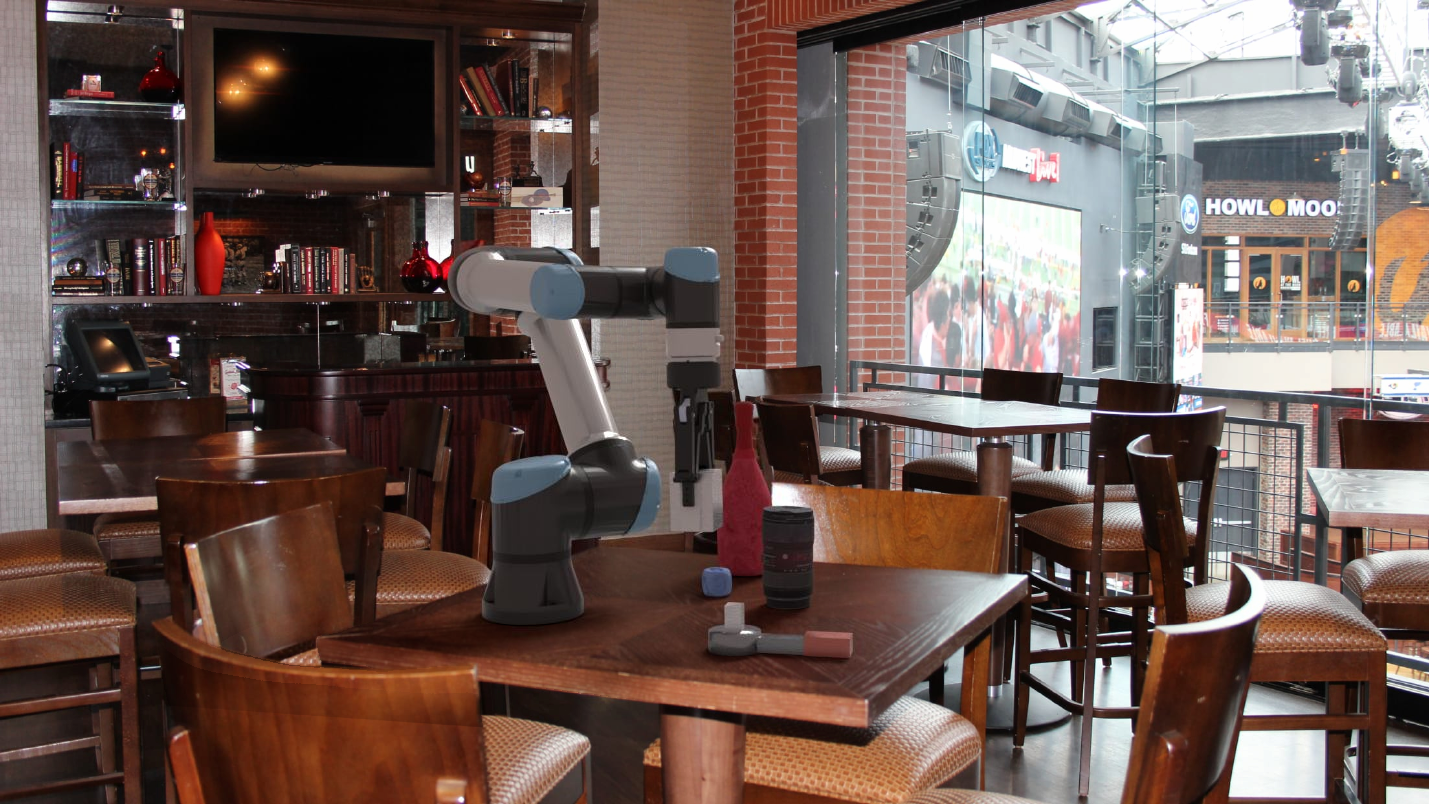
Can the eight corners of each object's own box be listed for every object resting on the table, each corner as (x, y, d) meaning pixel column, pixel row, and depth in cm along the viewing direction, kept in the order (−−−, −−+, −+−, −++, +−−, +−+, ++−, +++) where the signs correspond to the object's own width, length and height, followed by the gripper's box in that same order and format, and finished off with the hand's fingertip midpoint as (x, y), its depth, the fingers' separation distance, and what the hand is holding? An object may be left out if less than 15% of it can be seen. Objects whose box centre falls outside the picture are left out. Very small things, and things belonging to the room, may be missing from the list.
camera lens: (811, 611, 184) (811, 512, 183) (758, 609, 186) (757, 511, 185) (817, 600, 192) (817, 505, 191) (766, 598, 194) (766, 504, 193)
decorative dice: (725, 590, 200) (725, 566, 200) (732, 596, 196) (731, 571, 196) (701, 592, 199) (701, 568, 199) (707, 597, 195) (707, 572, 195)
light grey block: (670, 531, 168) (669, 473, 168) (681, 525, 174) (680, 468, 174) (713, 531, 167) (712, 473, 166) (723, 525, 173) (721, 468, 172)
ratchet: (702, 654, 160) (702, 609, 160) (715, 641, 167) (714, 597, 167) (847, 662, 156) (847, 615, 156) (854, 648, 163) (854, 603, 163)
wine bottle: (718, 567, 220) (717, 399, 218) (773, 566, 220) (772, 399, 218) (716, 578, 210) (714, 403, 208) (773, 577, 210) (772, 402, 208)
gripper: (703, 360, 159) (707, 537, 160) (734, 358, 178) (737, 517, 179) (648, 361, 161) (651, 536, 162) (684, 359, 179) (687, 516, 180)
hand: (696, 526), depth 170 cm, fingers closed on light grey block, 6 cm apart
